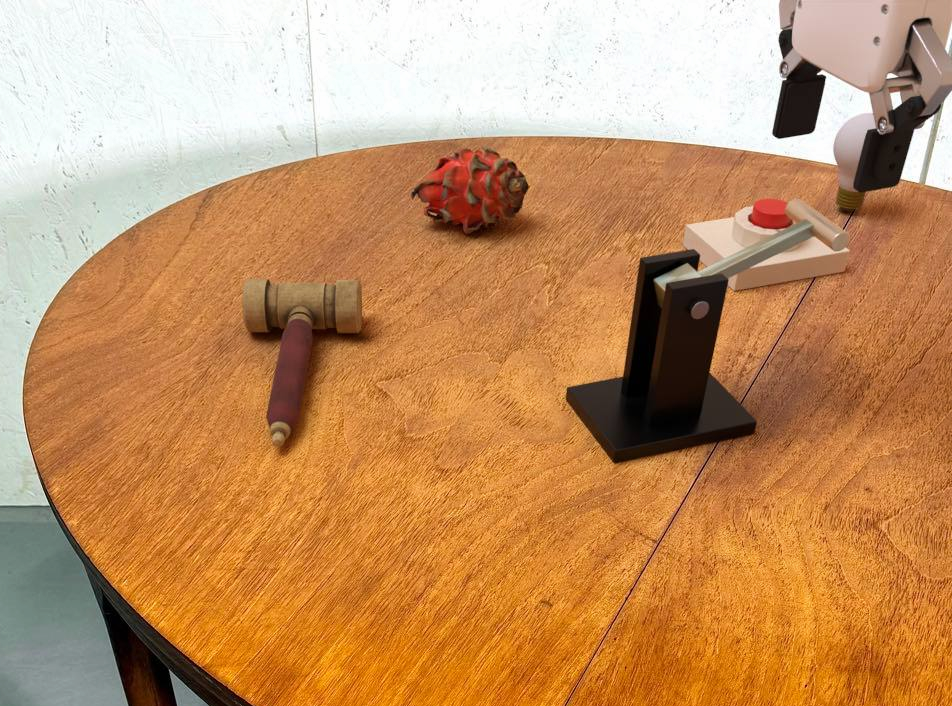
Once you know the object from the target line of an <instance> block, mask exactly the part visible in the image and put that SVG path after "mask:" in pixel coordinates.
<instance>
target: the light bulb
mask: <svg viewBox="0 0 952 706" xmlns="http://www.w3.org/2000/svg"><path fill="white" fill-rule="evenodd" d="M870 129H876V126H875V121H874V115H873V112H865V113H864V112H863V113H860V114H858V115H855V116H853V117H851V118H850V119H848V120H847V121H846V122H844V123H843V124H842V126H841V127H840V128H839V130H838V131H837V133H836V135H835V138H834V141H833V147H832V150H833V151H832V152H833V157H834V160H835V163H836V165H837V168H838V184H839V185H838V190H837V194H836V200H835V204H836V205H837V206H838V207H839V208H840V210H842V212H845V213H851V212H853V211H855V210H857V209H860V208H861V207H862V205H863V202H864V199H865V197H866V194H867V192H862V193H860V192H858V191H857V190H855V189H854V188H853V182H854V178H855V175H856V171H857V167H858V163H859V159H860V155H861V151H862V147H863V143H864V139H865V135H866V133H867V130H870Z"/></svg>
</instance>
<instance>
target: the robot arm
mask: <svg viewBox="0 0 952 706" xmlns="http://www.w3.org/2000/svg"><path fill="white" fill-rule="evenodd" d="M778 13H779V28H780V30H781V31H780V32H779V34H778V40H777V41H778V45H779V49H780V53H781V58H782V60H781V61H780V63H779V67H778V72H779V73H778V74H779V76H780V78H782V80H781V86H780V89H779V96H778V100H777V105H776V110H775V115H774V121H773V125H772V130H771V135H772V136H773V137H775V138H776V139H778V140H781V139H788V138H794V137H800V136H806V135H810V134H812V133H814V132H815V130H816V127H817V123H818V122H817V121H818V117H819V112H820V108H821V104H822V100H823V95H824V91H825V86H826V81H827V76H826V75H824V74H822V73H821V72H822V71H823V72H825V73H827V74H829V75H831V76H833V77H835V78H837V79H838V80H840V81H842V82H844V83H846V84H848V85H849V86H851V87H854V88H856V89H857V90H860V91H861V92H864V93H868V96H869V99H870V104H871V110H872V113H873V115H874V121H875V126H876V129H870V130H867V133H866V135H865V139H864V143H863V147H862V151H861V155H860V159H859V163H858V167H857V171H856V175H855V178H854V182H853V188H854V189H855V190H857V191H858V192H860V193H862V192H866V193H867V192H872V191H878V190H884V189H889V188H895V187H896V186H897V185H899V183H900V182H901V178H902V174H903V171H904V167H905V165H906V162H907V158H908V153H909V150H910V148H911V147H910V146H911V144H912V139H913V136H914V133H915V130H919V129H922V128H923V127H924V126H925V123H926V121H927V120H929V119H930V118H932V117H933V116H935V115H936V114H938V113H939V111H940V110H941V108H942V103H944V102H945V100H946V99H947V98H948V96H949V95H950V94H951V92H952V58H951V57H950V55H949V53H948V52H947V50H946V47H947V43H948V39H949V35H950V31H951V27H952V0H779V2H778ZM820 73H821V74H820ZM890 74H892V75H894V76H895V77H889V78H888V76H889V75H890ZM894 93H899V94H900V101H901V103H900V104H899V105H898V106H896V107H895V108H894V106H893V102H892V101H893V100H892V96H891V94H894Z"/></svg>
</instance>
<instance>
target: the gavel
mask: <svg viewBox="0 0 952 706" xmlns="http://www.w3.org/2000/svg"><path fill="white" fill-rule="evenodd" d="M241 301H242V305H241V306H242V318H243V323H244V327H245V329H246V330H247V332H248V333H270V332H271V331H272V328H280V329H281V330H284V331H283V332H282V336H281V341H280V346H279V351H278V356H277V360H276V366H275V370H274V376H273V380H272V384H271V390H270V396H269V400H268V404H267V409H266V413H265V416H266V418H265V419H266V422H267V425H268V427H269V435H270V436H271V443H272V445H273V446H274V447H277V448H279V447H282V446H283V445H284V444H285V442H286V440H287V439H288V438H289V437H290V435H291V433H292V431H293V430H294V429H295V428H296V427H297V426H298V424H299V421H300V417H301V416H300V415H301V410H302V403H303V398H304V392H305V387H306V380H307V374H308V368H309V362H310V358H311V357H310V356H311V350H312V344H313V333H312V332H313V330H327V329H328V328H336V332H337V333H338V334H359V333H360V332H361V330H362V324H363V294H362V283H361V281H360V280H359V279H337V280H336V284H327V283H326V282H280V283H279V284H271V281H270V279H269V278H248V279H246V280H245V282H244V284H243V287H242V300H241Z"/></svg>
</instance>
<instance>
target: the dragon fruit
mask: <svg viewBox="0 0 952 706" xmlns="http://www.w3.org/2000/svg"><path fill="white" fill-rule="evenodd" d="M481 149H482V150H483V151H484V152H482V150H480V149H477V150H476V151H475V152H474V151H473V150H472V149H470V148H465V147H464V148H460V149H456V150H455V151H454V152H453V155H451V156H445V157H444V156H443V157H441V158H440V159H439V160H438V163H437V165H436V166H435V168H434V169H433V170H432V171H431V172H430V173H428V174H427V175H426V176H425V177H424V179H423V180H422V181H421V182H419V183H418V184H417V185H416V187H414V188H413V191H411V194H410V197H411V200H412V201H413V200H415V197H416V195H417V198H418V199H420V202H422V203H424V204H426V203H428V205H427V206H425V207H424V208H423V211H422V212H423V215H424V216H426V217H427V218H429V219H431V220H433V222H438V223H444V224H447V223H449V224H450V225H455V226H456V225H461V224H462V227H463V229H462V230H463V233H465V234H468V235H470V234H471V233H473V232H475V231H477V230H479V229H480V228H481V226H483V227H484V228H485V229H491V228H495V227H496V226H497V225H498V223H499V219H500V218H502V219H506V220H512V219H513V218H515V217H516V214H519V213H520V210H521V209H522V208H523V205H524V204H523V203H524V199H525V195H526V194H527V193H528V190H529V188H530V187H531V186H530V185H529V183H528V182H527V178H526V176H525V174H524V173H523V171H521V170H520V169H519V168H518V166H517V164H516V163H515V161H513V160H511V159H509V158H507V157H505V158H503V157H501V155H500V153H499V152H498V151H496V150H494V149H493V148H491V147H489V146H484V147H481ZM434 214H436V215H434Z"/></svg>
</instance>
